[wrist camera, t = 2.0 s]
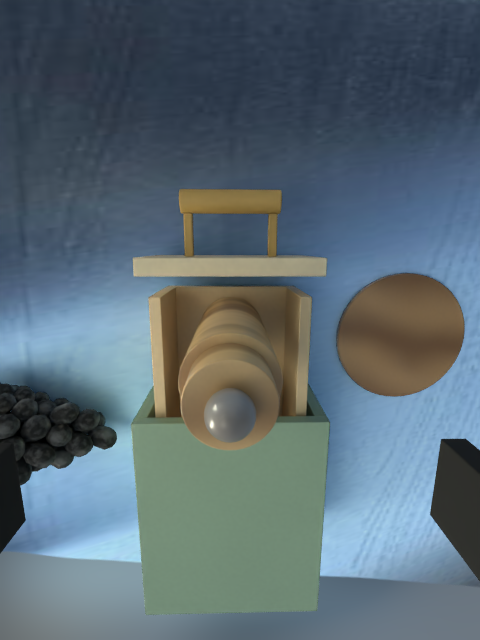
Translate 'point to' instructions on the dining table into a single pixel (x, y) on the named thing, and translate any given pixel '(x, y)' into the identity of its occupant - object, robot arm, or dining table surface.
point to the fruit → (48, 429)
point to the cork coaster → (400, 334)
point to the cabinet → (230, 515)
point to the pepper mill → (230, 378)
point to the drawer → (192, 301)
